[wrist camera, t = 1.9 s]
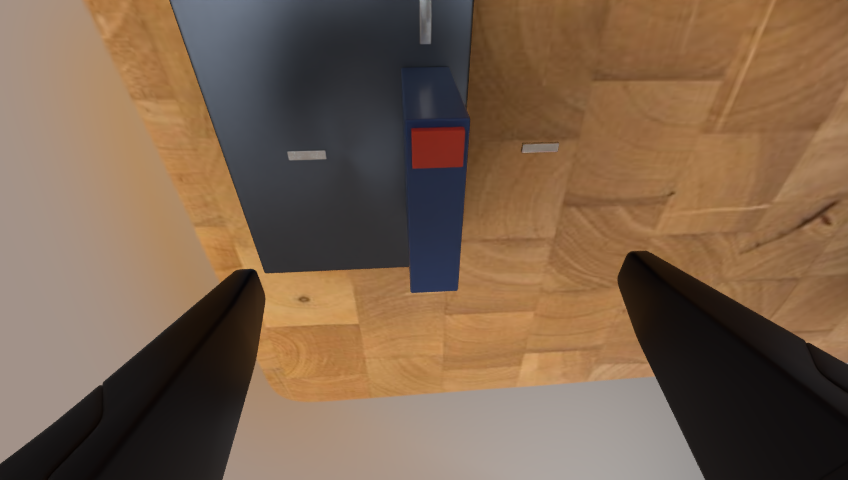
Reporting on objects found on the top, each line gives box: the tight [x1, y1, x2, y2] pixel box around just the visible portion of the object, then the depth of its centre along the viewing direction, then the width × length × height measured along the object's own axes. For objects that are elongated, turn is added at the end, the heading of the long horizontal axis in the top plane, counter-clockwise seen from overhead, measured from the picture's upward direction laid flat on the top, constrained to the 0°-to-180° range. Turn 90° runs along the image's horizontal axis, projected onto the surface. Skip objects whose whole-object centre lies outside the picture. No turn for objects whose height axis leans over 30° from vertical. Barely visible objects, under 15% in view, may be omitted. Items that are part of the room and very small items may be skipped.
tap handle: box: [401, 67, 470, 293], centre depth 13 cm, size 6×2×5 cm, turn 0°
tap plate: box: [169, 0, 559, 273], centre depth 16 cm, size 12×13×3 cm
